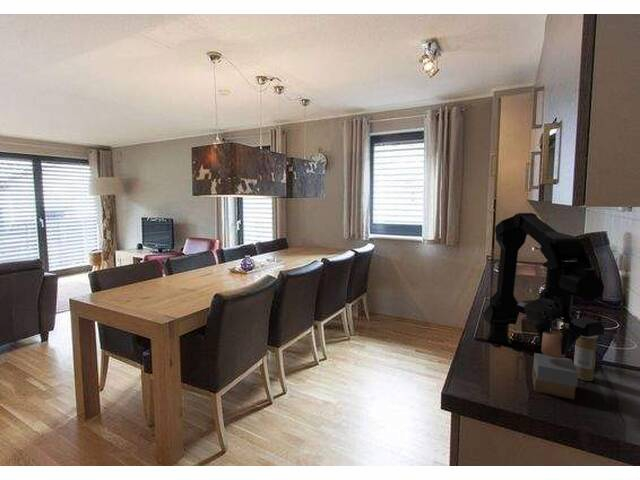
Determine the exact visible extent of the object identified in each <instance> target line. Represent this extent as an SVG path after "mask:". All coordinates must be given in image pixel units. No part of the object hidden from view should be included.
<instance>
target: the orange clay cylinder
mask: <svg viewBox="0 0 640 480" xmlns="http://www.w3.org/2000/svg"><path fill="white" fill-rule="evenodd" d="M562 336H563V334H562V333H561V331H555V330H550V331H543V337H542V344H541V349H540V350H541V351H540V352H541V354H544V355H547V356H549V357H553V358H566V354H565V355H563V354H562V352H561V347H562Z"/></svg>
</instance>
